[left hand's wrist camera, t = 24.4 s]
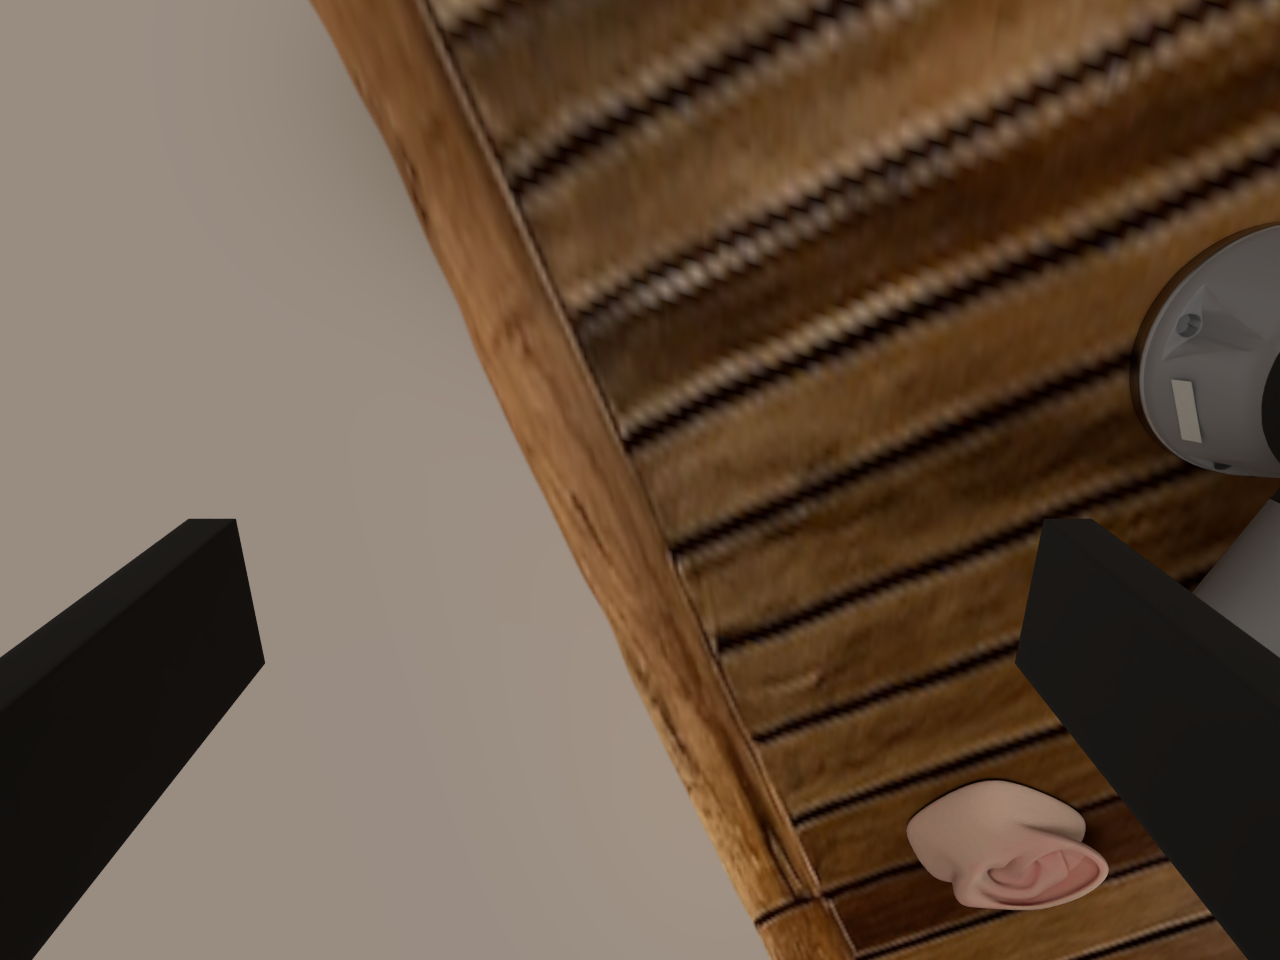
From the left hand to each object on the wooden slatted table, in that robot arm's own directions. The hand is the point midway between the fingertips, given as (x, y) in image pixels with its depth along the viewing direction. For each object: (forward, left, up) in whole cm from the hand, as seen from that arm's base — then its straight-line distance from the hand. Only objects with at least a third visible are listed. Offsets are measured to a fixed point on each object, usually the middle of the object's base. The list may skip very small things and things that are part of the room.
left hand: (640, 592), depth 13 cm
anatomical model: (-5, +51, -36) cm, 63 cm away
